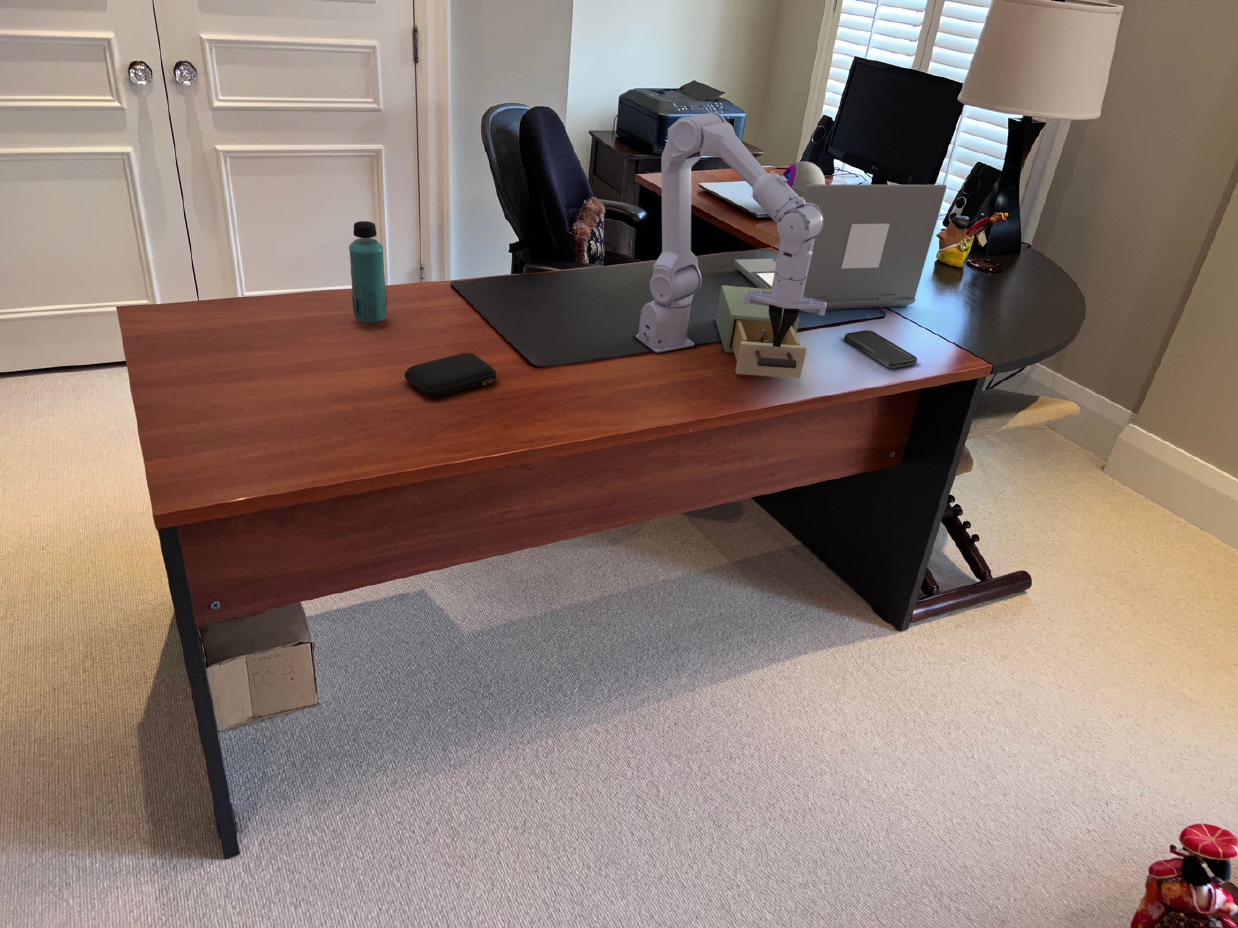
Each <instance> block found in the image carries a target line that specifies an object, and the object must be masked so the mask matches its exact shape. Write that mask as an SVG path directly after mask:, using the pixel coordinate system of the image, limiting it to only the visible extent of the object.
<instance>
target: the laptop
mask: <svg viewBox="0 0 1238 928" xmlns="http://www.w3.org/2000/svg"><path fill="white" fill-rule="evenodd" d="M947 188H948V185H947V184H845V183H844V184H839V183H837V184H829V183H827V184H826V183H825V184H805V188H804V193H803V199H804V200H805V202H806V203H812V204H815V205H817V206H818V208H819V210H820V211H821V212H822V214H823V218H824V225H823V228H822V230H821V232H820V233H819V234H818V235H816V236H815V237H813V238H815V241H814V245H813V250H812V255H811V260H810V265H809V269H808V274H807V279H806V283H805V288H804V292H803V296H804V297H807V298H811V299H815V300H818V301H824V302H826V305H827V306H826V311H827V310H845V309H846V310H847V309H866V308H867V309H869V308H889V307H890V308H891V307H892V308H893V307H908V306H910V305H912V304H914V303H915V302H916V295H917V291H918V288H919V285H920V281H921V278H922V274H923V270H924V267H925V264H926V260H927V256H928V253H929V250H930V247H931V243H932V240H933V236H934V232H935V230H936V229H935V228H936V225H937V222H938V218H939V215H940V212H941V208H942V205H943V201H944V197H945V193H946V191H947ZM813 238H810V239H813ZM777 258H778V257H777ZM777 258H776V257H775V258H748V259H747V258H746V259H745V258H744V259H742V258H741V259H734V261H733V266H734V268H735V269H737V271H738V272H740V274H742V275H743V276H744V277H745V278H746V279H747V280H748V281H749V282H751V283H752V284H753V285H754V286H755V287H756V288H761V289H771V288H772V283H773V278H774V273H775V268H776V263H777Z"/></svg>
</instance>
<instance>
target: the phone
mask: <svg viewBox="0 0 1238 928" xmlns="http://www.w3.org/2000/svg"><path fill="white" fill-rule="evenodd" d="M843 341H844V342H846V343H848V344H849V345H851V346H852V347H854V348H855V349H856V350H858V351H860V352H862V353H864V354H865V355H866V356H868V357H870V358H871V359H873V360H875V361H876V362H878V363H879V364H881V365H883V366H884V367H886V368H888V369H892V370H893V369H900V368H905V367H911V366H915V365H916V364H917V361H918V357H917V356H915V355H914V354H912V353H911V352H909V351H907V350H905V349H904V348H902V347H900V346H899V345H897V344H896V343H893V342H892V341H890V340H889V339H887V338H885V337H884V336H882V335H880V334H879V333H877V332H875V331H873V330H870V329H864V330H858V331H853V332H846V333H844V337H843Z"/></svg>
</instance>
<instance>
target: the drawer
mask: <svg viewBox="0 0 1238 928" xmlns="http://www.w3.org/2000/svg"><path fill="white" fill-rule="evenodd" d="M780 327H781V323H780ZM762 329H765V330H767V334H768V336H767V338H768V341H769V343H758V341H759V340H760V338H761V336H762V335H761V332H762ZM779 330H780V328H779ZM778 334H779V333H778ZM731 345H732V348H733V351H734V353H733V354H734V357H735V361H736V365H735V370H734V371H735V374H736V375H747V376H761V377H776V378H787V379H789V378H790V379H801V376H802V371H803V367H804V362H805V358H806V355H807V354H806V353H807V346H806V345H801V342H800V340H799V338H798V336H797V333H796V334H795V331H794V329H793V327H792V326H791V327H790V329H789V330H788V332H787V333H786V335H785V337H784V339H783V341H782V343H781V346H780V347H775V346H773V330H772V324H771V322H769V321H756V320H743V319H734V325H733V331H732V336H731Z"/></svg>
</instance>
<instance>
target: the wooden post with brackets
mask: <svg viewBox="0 0 1238 928" xmlns="http://www.w3.org/2000/svg"><path fill="white" fill-rule="evenodd" d="M761 335H762V336H761V338H760V340H759V341H758V343H769V341H768V338H767V336H768V334H767V330H765V329H762V332H761Z"/></svg>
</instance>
